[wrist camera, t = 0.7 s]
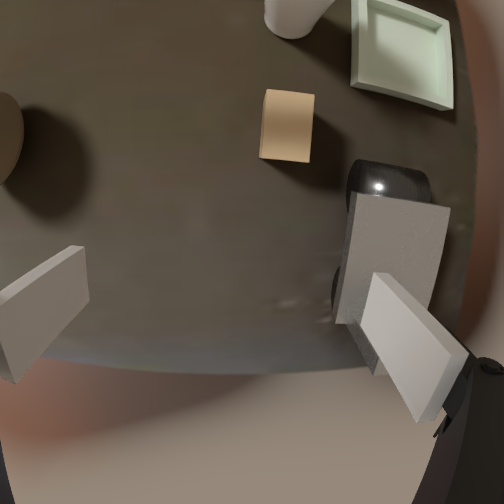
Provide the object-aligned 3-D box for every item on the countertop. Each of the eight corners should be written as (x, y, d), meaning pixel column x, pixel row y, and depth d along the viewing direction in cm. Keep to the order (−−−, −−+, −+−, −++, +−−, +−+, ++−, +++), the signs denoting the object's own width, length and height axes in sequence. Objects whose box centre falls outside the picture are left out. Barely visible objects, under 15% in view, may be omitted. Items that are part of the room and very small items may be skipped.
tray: (351, -3, 25) (357, -12, 23) (438, 26, 26) (448, 21, 23) (350, 86, 29) (357, 81, 26) (441, 110, 29) (453, 109, 27)
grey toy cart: (336, 156, 31) (407, 159, 16) (416, 170, 31) (512, 188, 16) (316, 306, 36) (353, 396, 21) (391, 307, 36) (453, 384, 21)
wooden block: (263, 101, 29) (267, 89, 24) (302, 105, 29) (314, 94, 24) (259, 157, 31) (261, 157, 25) (297, 161, 31) (309, 162, 25)
